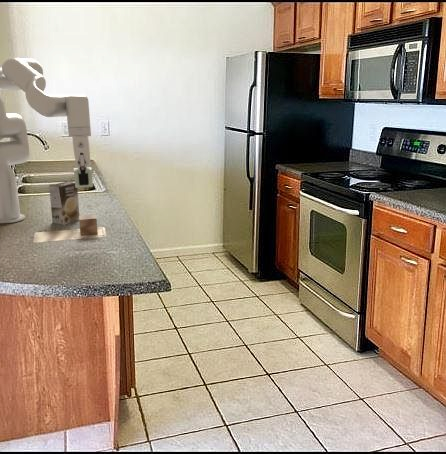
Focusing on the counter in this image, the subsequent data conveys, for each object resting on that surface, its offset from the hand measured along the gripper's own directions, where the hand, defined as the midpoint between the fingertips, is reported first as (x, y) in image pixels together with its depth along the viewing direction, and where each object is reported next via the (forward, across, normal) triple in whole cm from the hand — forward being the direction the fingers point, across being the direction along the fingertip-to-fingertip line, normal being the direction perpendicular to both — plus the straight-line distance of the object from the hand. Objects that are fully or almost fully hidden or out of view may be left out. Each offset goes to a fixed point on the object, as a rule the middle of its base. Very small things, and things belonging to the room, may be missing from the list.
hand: (83, 182), depth 178 cm
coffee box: (+20, +20, +8) cm, 30 cm away
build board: (+20, 0, +6) cm, 21 cm away
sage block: (+1, 0, 0) cm, 1 cm away
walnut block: (+19, 0, 0) cm, 19 cm away
